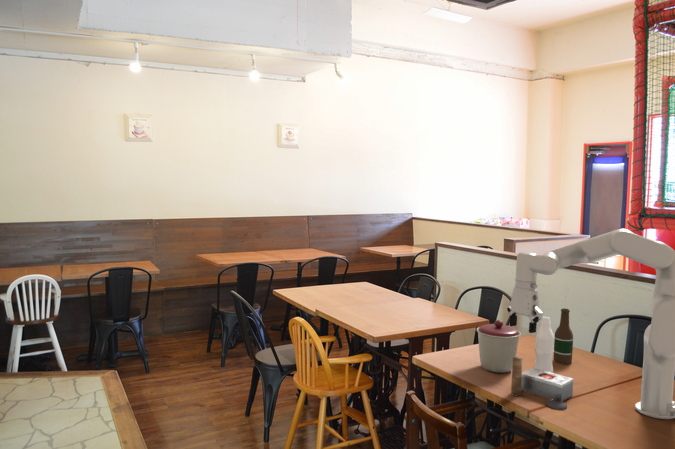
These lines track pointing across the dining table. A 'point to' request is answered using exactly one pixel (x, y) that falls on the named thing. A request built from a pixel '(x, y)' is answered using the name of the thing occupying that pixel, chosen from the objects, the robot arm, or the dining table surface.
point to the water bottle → (544, 346)
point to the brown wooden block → (516, 375)
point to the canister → (497, 346)
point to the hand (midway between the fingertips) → (522, 329)
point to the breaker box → (547, 384)
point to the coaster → (556, 404)
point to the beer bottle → (563, 340)
